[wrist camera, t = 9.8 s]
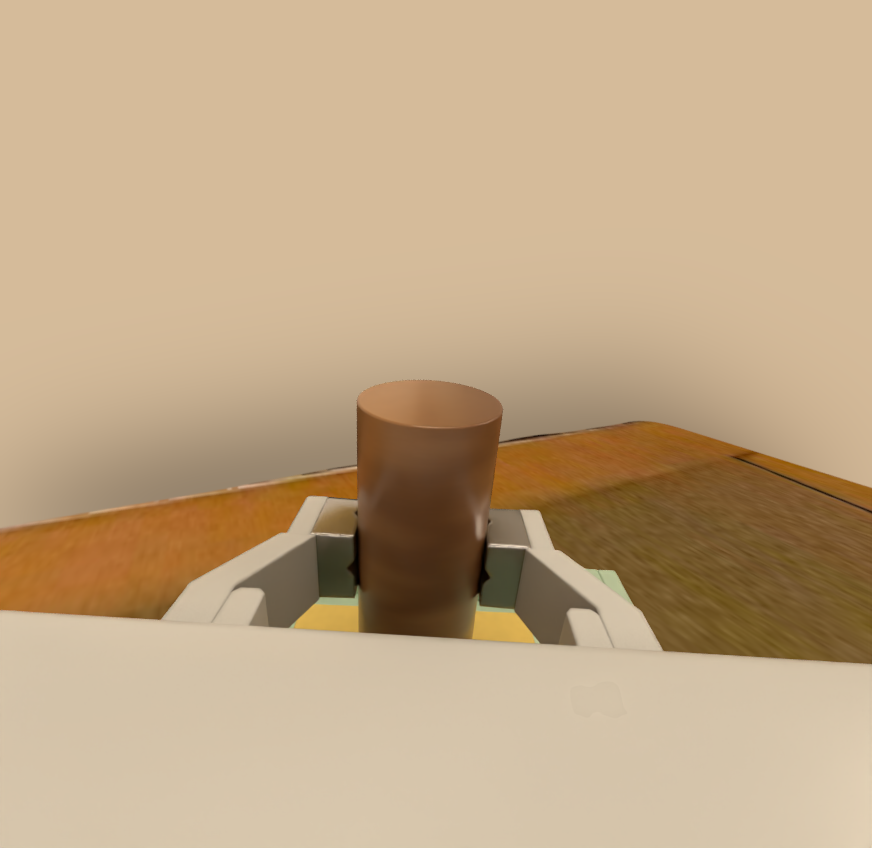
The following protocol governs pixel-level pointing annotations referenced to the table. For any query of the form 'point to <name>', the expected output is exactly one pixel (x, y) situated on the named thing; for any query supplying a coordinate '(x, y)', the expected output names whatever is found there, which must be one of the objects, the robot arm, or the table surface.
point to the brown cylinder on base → (423, 515)
